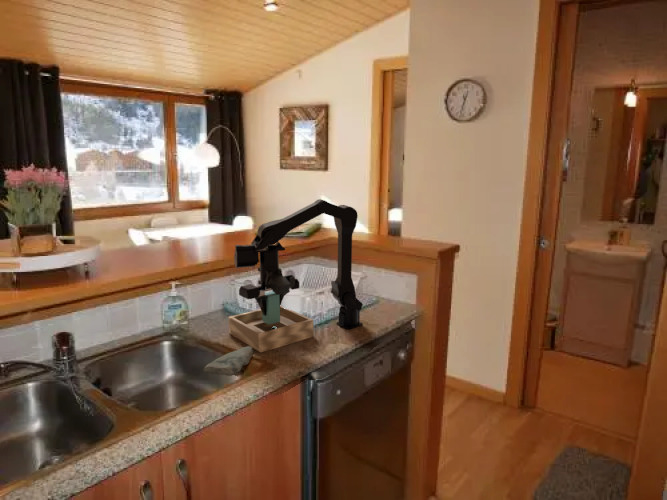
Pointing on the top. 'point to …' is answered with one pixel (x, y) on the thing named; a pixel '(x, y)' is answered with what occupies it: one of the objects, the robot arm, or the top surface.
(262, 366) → the top surface
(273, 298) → the peg
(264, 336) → the box
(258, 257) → the robot arm
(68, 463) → the top surface
